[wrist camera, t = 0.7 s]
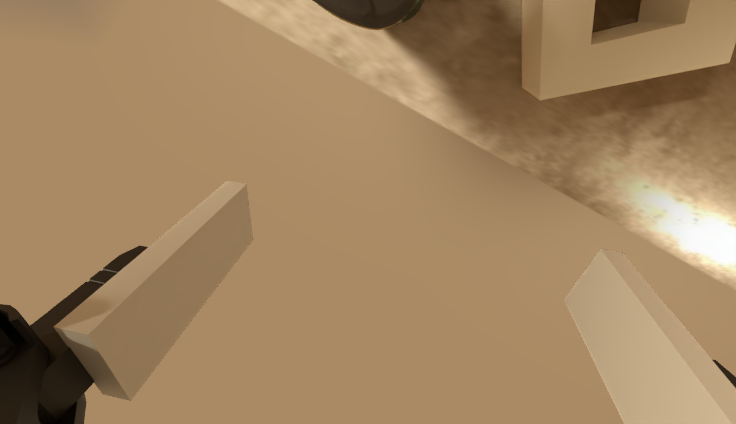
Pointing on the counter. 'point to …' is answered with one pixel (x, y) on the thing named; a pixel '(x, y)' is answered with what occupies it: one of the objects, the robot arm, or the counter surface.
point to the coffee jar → (372, 11)
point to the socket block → (620, 43)
